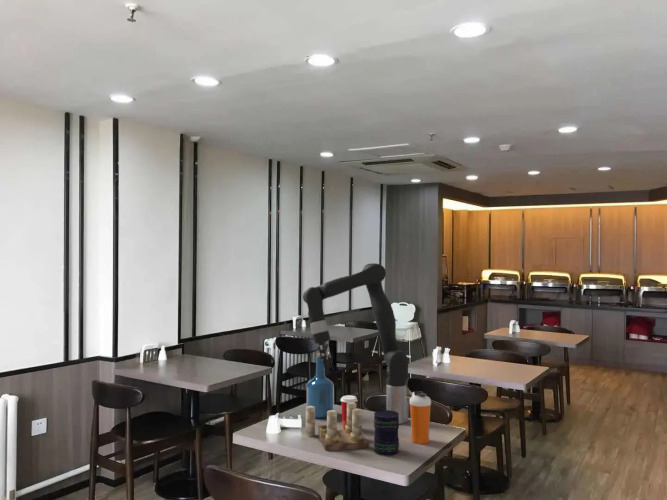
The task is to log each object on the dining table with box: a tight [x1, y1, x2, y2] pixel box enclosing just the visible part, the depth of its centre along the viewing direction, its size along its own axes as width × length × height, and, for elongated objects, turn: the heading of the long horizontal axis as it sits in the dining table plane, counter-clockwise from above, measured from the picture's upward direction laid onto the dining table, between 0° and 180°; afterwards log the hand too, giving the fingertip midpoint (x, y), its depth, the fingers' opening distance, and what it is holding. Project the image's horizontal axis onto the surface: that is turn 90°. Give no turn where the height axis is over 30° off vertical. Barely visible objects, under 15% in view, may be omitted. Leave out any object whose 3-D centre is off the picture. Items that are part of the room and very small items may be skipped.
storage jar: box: [373, 403, 400, 457], centre depth 217 cm, size 10×10×18 cm
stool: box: [318, 402, 368, 452], centre depth 228 cm, size 17×17×14 cm
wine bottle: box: [305, 352, 335, 419], centre depth 268 cm, size 14×13×30 cm
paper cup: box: [339, 395, 359, 430], centre depth 246 cm, size 8×8×14 cm
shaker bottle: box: [408, 391, 432, 445], centre depth 230 cm, size 9×9×20 cm
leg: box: [305, 405, 316, 438], centre depth 237 cm, size 4×4×12 cm
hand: (328, 368), depth 242 cm, fingers open, 8 cm apart
